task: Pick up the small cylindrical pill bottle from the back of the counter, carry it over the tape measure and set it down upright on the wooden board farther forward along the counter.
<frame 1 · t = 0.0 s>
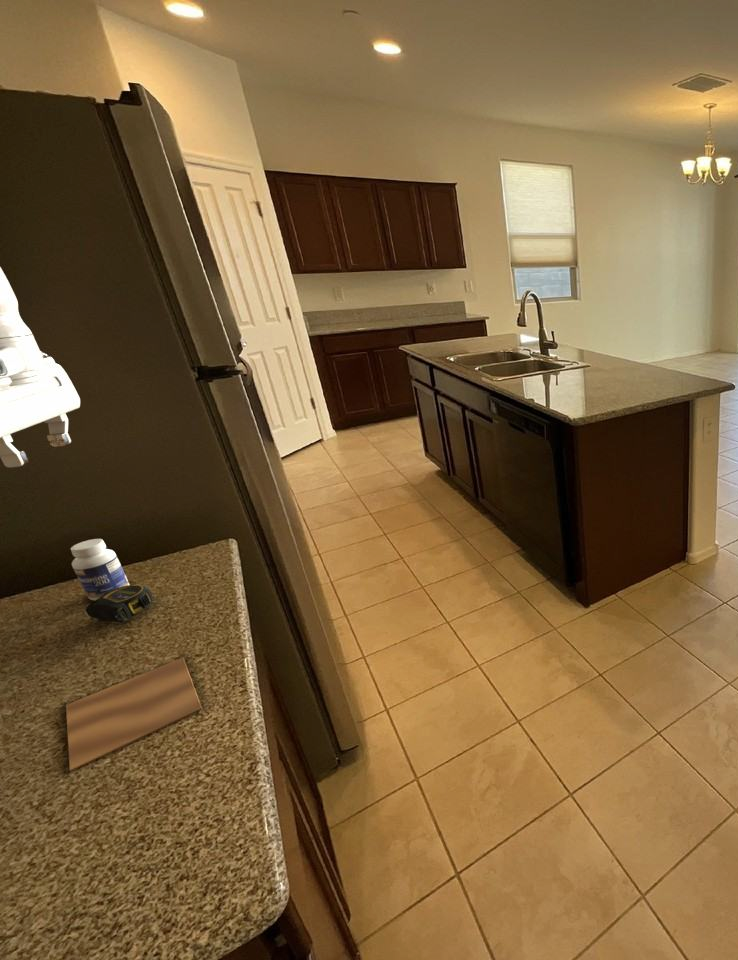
hand: (41, 454, 76), 28 cm above the countertop, tool pointing down, fingers open, 8 cm apart
pill bottle: (110, 593, 92), on the countertop
wooden board: (134, 708, 67), on the countertop
tape measure: (126, 617, 85), on the countertop
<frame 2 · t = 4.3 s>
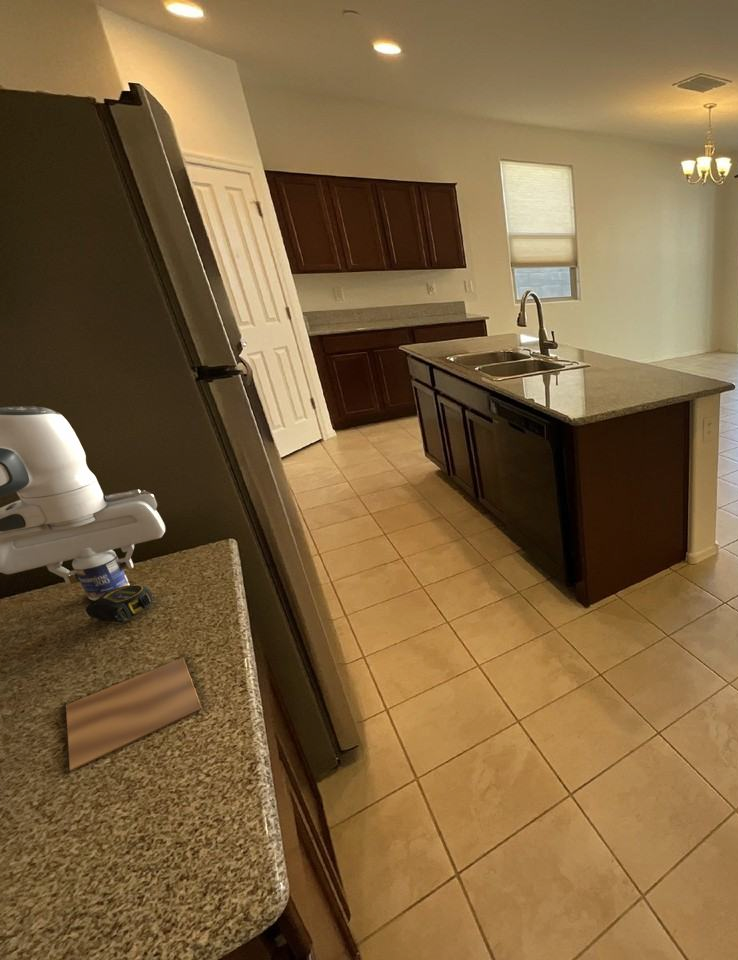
hand: (101, 575, 90), 4 cm above the countertop, tool pointing down, fingers closed on pill bottle, 5 cm apart
pill bottle: (110, 593, 92), on the countertop, touching gripper
everything else where it was.
when the fingers open (4 cm above the countertop, at t = 12.1 s): pill bottle stays where it is, resting on wooden board.
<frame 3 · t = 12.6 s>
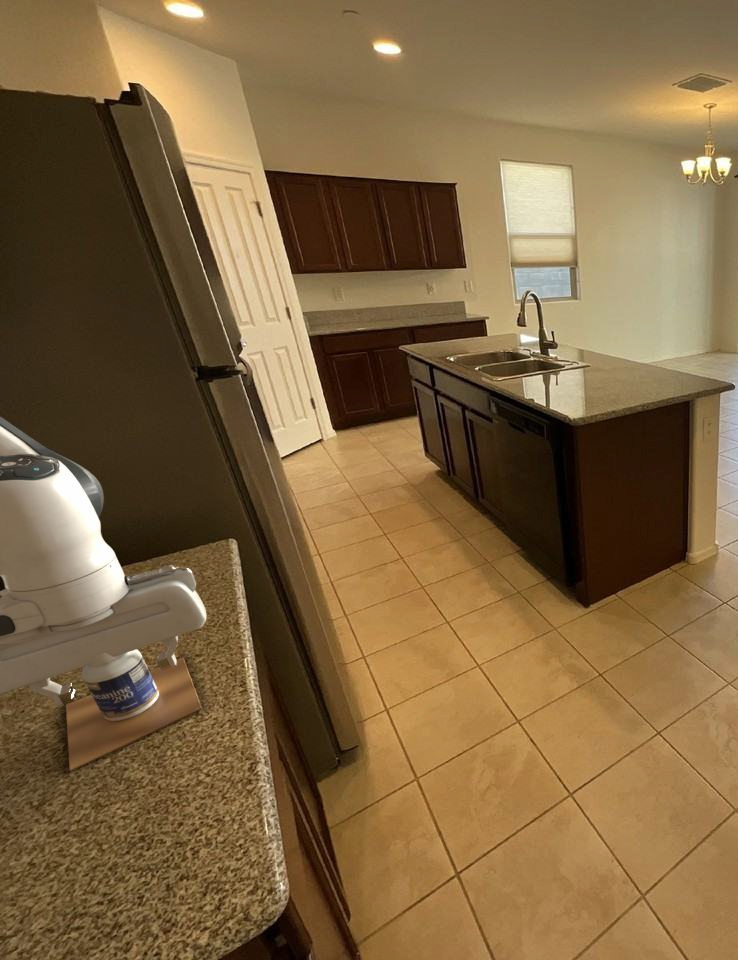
hand: (121, 682, 66), 4 cm above the countertop, tool pointing down, fingers open, 8 cm apart
pill bottle: (133, 707, 67), resting on wooden board
everything else where it was.
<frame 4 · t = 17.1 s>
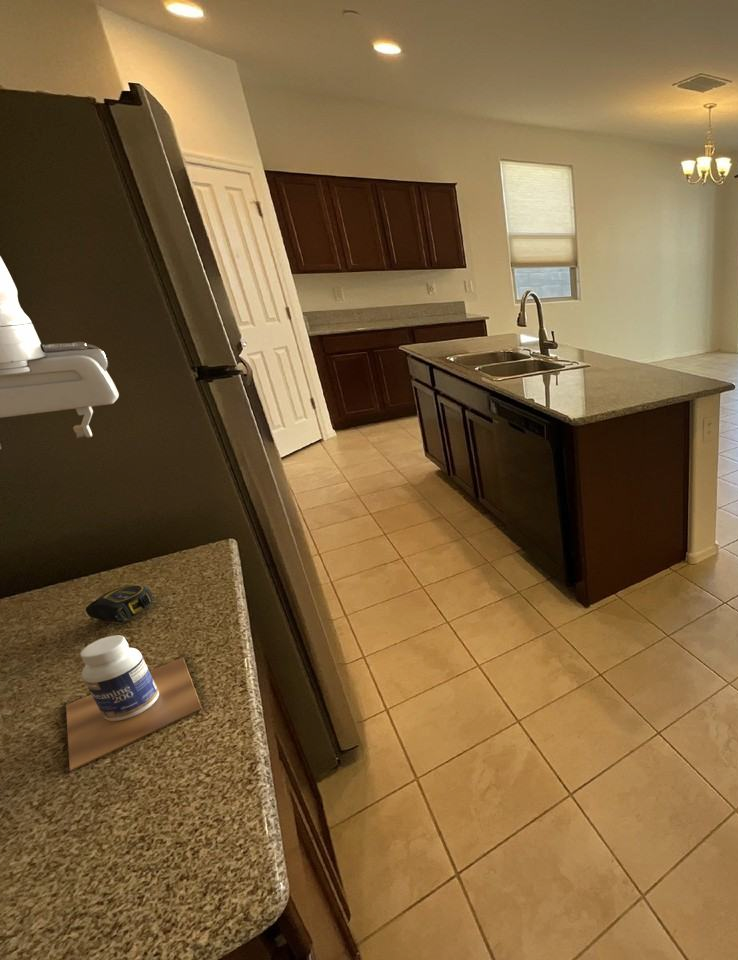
hand: (40, 443, 77), 29 cm above the countertop, tool pointing down, fingers open, 8 cm apart
nothing on the countertop moved.
at the end: pill bottle inside the target area on the wooden board (0.1 cm from its centre), point 0.1 cm above the wooden board's base; pill bottle tilted 0°; the gripper is holding nothing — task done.
